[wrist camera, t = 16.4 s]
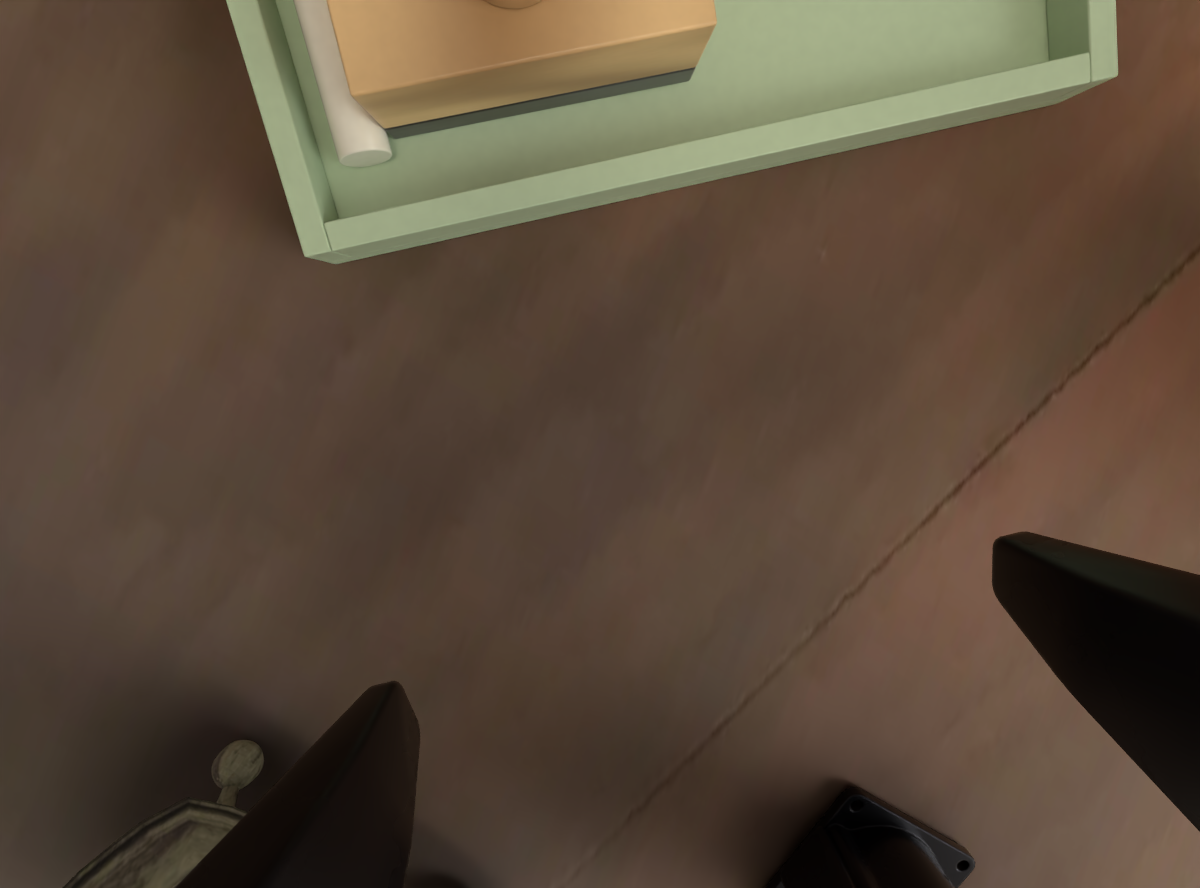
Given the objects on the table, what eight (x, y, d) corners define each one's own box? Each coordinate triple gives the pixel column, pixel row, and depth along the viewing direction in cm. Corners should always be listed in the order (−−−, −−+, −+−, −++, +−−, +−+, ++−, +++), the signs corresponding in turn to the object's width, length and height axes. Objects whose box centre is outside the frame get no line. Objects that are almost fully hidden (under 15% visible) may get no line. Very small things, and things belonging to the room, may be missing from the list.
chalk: (342, -73, 17) (297, -53, 17) (305, -106, 15) (257, -83, 16) (402, 156, 18) (359, 170, 18) (373, 146, 16) (327, 161, 17)
